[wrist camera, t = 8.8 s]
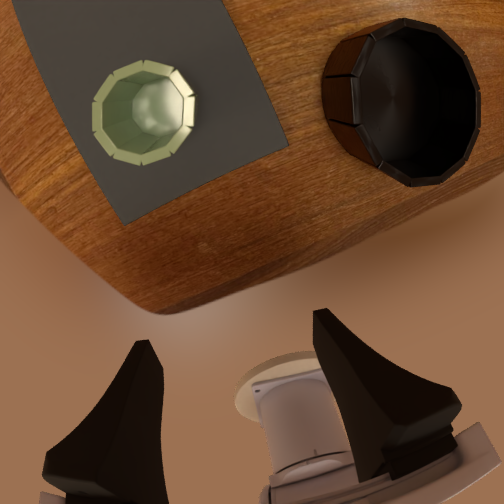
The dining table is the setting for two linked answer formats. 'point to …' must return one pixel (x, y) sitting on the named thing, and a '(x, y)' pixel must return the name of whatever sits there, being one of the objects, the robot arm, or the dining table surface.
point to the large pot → (403, 101)
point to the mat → (162, 51)
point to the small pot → (144, 112)
